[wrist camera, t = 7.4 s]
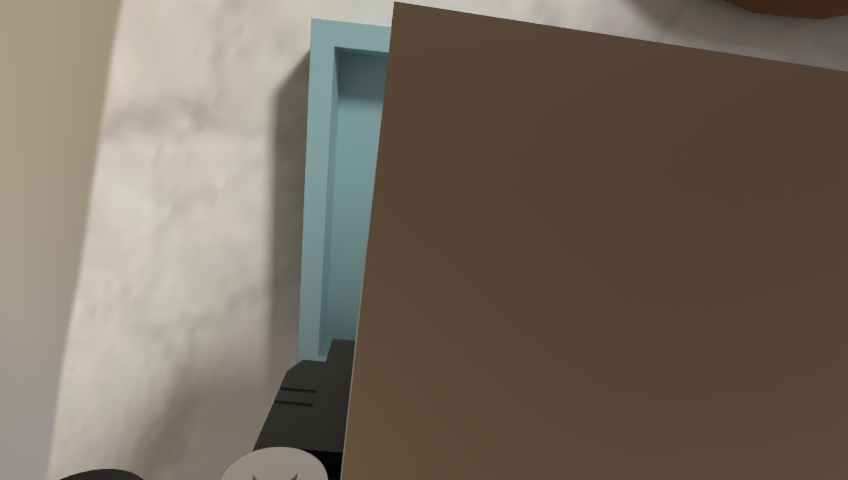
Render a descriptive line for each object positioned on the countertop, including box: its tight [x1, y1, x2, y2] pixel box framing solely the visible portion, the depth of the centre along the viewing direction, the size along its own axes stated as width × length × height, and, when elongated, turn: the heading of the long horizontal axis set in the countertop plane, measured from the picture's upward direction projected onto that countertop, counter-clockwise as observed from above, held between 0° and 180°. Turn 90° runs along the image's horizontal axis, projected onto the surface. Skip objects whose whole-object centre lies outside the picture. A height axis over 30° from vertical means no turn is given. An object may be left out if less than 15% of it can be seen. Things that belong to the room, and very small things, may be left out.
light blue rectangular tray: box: [297, 18, 391, 364], centre depth 25 cm, size 16×9×4 cm, turn 174°
